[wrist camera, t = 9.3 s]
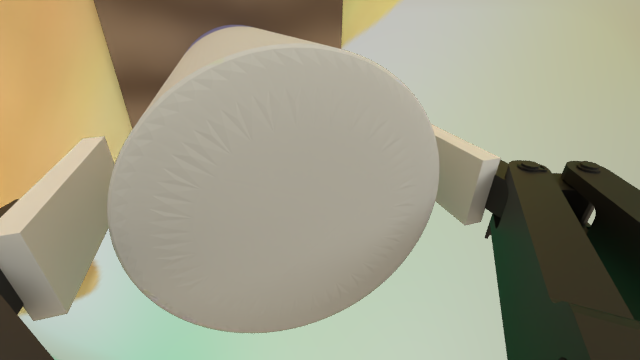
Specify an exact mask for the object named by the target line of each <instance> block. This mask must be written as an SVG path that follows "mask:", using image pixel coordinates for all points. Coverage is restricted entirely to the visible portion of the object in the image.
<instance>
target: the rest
mask: <svg viewBox="0 0 640 360" xmlns="http://www.w3.org/2000/svg"><path fill="white" fill-rule="evenodd" d="M94 3H95V6H96V9H97V13H98V16H99V19H100V23H101V26H102V29H103V33H104V36H105V39H106V42H107V46H108V49H109V52H110V56H111V59H112V62H113V65H114V69H115V72H116V75H117V79H118V82H119V85H120V88H121V92H122V95H123V98H124V102H125V105H126V108H127V112H128V115H129V118H130V121H131V125H132V128H134V127H135V125H136V124H137V122H138V121H139V119H140V118H141V116H142V115H143V114H144V112H145V111H146V109H147V108H148V106H149V105H150V103H151V102H152V101H153V99H154V98H155V96H156V95H157V93H158V92H159V90H160V89H161V87H162V86H163V85H164V83H165V82H166V80H167V79H168V77H169V76H170V74H171V73H172V72H173V70H174V69H175V67H176V66H177V64H178V63H179V61H180V60H181V59H182V57H183V56H184V54H185V53H186V51H187V50H188V48H189V47H190V46H191V45H192V43H193V42H194V41H195V40H196V39H198V38H199V37H200V36H201V35H203V34H204V33H206V32H208V31H210V30H212V29H214V28H217V27H221V26H226V25H245V26H250V27H254V28H258V29H262V30H266V31H270V32H274V33H278V34H282V35H286V36H291V37H295V38H299V39H303V40H307V41H311V42H315V43H319V44H323V45H327V46H331V47H335V48H339V49H341V37H342V6H343V0H94Z"/></svg>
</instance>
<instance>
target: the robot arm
mask: <svg viewBox="0 0 640 360" xmlns="http://www.w3.org/2000/svg"><path fill="white" fill-rule="evenodd" d="M431 125H432V124H431ZM432 128H433V131H434V134H435V138H436V142H437V147H438V153H439V183H438V190H437V195H436V199H435V201H436V202H437V203H438V204H440V205H441V206H442V207H443V208H444V209H446V210H447V211H448V212H449V213H450V214H452V215H453V216H454V217H456V218H457V219H458V220H459V221H460V222H462V223H463V224H464V225H469V224H473V223H478V222H481V220H482V216H483V213H484V210H485V208H486V209H487V210H489V211H490V212H492V213H493V214H492V217H491V220H490V223H489V226H488V229H487V232H486V235H485V238H488V237H489V235H491V236H492V243H493V250H494V259H495V266H496V274H497V282H498V289H499V297H500V305H501V313H502V320H503V328H504V335H505V343H506V351H507V359H508V360H640V190H638V189H637V188H635V187H634V186H632V185H631V184H629V183H628V182H626V181H625V180H623V179H622V178H620V177H619V176H617V175H615V174H614V173H612V172H611V171H609V170H608V169H606V168H604V167H602V166H599V165H597V164H596V163H592V162H588V161H582V162H581V161H570V162H567V163H566V166H565V168H564V171H563V173H562V174H557V173H551V171H550V170H549V169H548V168H546V167H545V166H542V165H540V164H538V163H535V162H532V161H521V160H519V161H518V160H517V161H511V162H509V164H508V163H506V162H504V161H502V160H500V159H501V158H500V157H498V156H496V155H494V154H491V153H490V152H487V151H485V150H483V149H481V148H479V147H477V146H475V145H473V144H471V143H469V142H467V141H465V140H463V139H461V138H459V137H457V136H455V135H453V134H451V133H448V132H446V131H444V130H442V129H440V128H438V127H436V126H434V125H432ZM114 166H115V164H114V162H113V159H112V156H111V153H110V150H109V148H108V145H107V142H106V139H105V136H103V137H92V138H83V139H82V140H81V141H80V142H79V143H78V144H77V145H76V146H74V147H73V148H72V149H71V150H70V151H69V152H68V153H67V154H66V155H65V156H64V157H63V158H62V159H61V160H60V161H59V162H58V163H57V164H56V165H55V166H54V167H53V168H52V169H51V170H49V171H48V172H47V173H46V174H45V175H44V176H43V177H42V178H41V179H40V180H39V181H38V182H37V183H36V184H35V185H34V186H33V187H32V188H31V189H30V190H29V191H28V192H27V193H26V194H24V195H23V196H22V197H21V198H20V199H17V200H14V201H13V202H11V203H9V204H7V205H5V206H4V207H2V208H0V360H54V359H53V358H52V356H51V355H50V354H49V353H48V352H47V350H45V348H44V347H43V346H42V345H41V343H40V342H39V341H38V340H37V338H36V337H35V336H34V335H33V333H32V332H31V331H30V330H29V329H28V327H27V326H26V325H25V324H24V323H23V321H22V320H21V319H20V318H19V317H18V315H17V314H18V313H19V311H20V310H21V308H22V307H24V308H25V310H26V311H27V313H28V314H29V315H30V317H31V318H32V320H33V321H36V320H41V319H45V318H50V317H54V316H59V315H63V314H67V313H68V311H69V309H70V307H71V305H72V303H73V301H74V299H75V297H76V294H77V292H78V290H79V288H80V286H81V284H82V282H83V280H84V278H85V276H86V274H87V272H88V269H89V267H90V265H91V263H92V261H93V259H94V257H95V255H96V253H97V251H98V249H99V247H100V244H101V242H102V240H103V238H104V236H105V234H106V232H107V230H108V228H109V226H108V217H107V200H108V191H109V185H110V180H111V176H112V172H113V169H114ZM594 208H595V210H596V216H595V219H594V221H593V223H592V225H590V224H589V223H588V222H587V221H588V219H589V218H590V216H591V214H592V212H593V210H594Z"/></svg>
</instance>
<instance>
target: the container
mask: <svg viewBox="0 0 640 360" xmlns="http://www.w3.org/2000/svg"><path fill="white" fill-rule="evenodd" d="M438 183H439V153H438V147H437V142H436V138H435V134H434V131H433V128H432V125H431V123H430V121H429V118H428V116H427V114H426V112H425V110H424V109H423V107H422V105H421V104H420V102H419V101H418V99H417V98H416V97H415V95H414V94H413V93H412V92H411V91H410V90H409V88H408V87H407V86H406V85H405V84H404V83H403V82H402V81H401V80H399V79H398V78H397V77H396V76H395V75H393V74H392V73H391V72H389V71H388V70H387V69H385V68H384V67H382V66H380V65H379V64H377V63H375V62H373V61H371V60H369V59H367V58H365V57H363V56H360V55H358V54H355V53H352V52H350V51H346V50H343V49H339V48H335V47H331V46H327V45H323V44H319V43H315V42H311V41H307V40H303V39H299V38H295V37H291V36H286V35H282V34H278V33H274V32H270V31H266V30H262V29H258V28H254V27H250V26H245V25H226V26H221V27H217V28H214V29H212V30H210V31H208V32H206V33H204V34H203V35H201V36H200V37H199V38H198V39H196V40H195V41H194V42H193V43H192V45H191V46H190V47H189V48H188V50H187V51H186V53H185V54H184V56H183V57H182V59H181V60H180V61H179V63H178V64H177V66H176V67H175V69H174V70H173V72H172V73H171V74H170V76H169V77H168V79H167V80H166V82H165V83H164V85H163V86H162V87H161V89H160V90H159V92H158V93H157V95H156V96H155V98H154V99H153V101H152V102H151V103H150V105H149V106H148V108H147V109H146V111H145V112H144V114H143V115H142V116H141V118H140V119H139V121H138V122H137V124H136V125H135V127H134V128H133V129H132V131H131V133H130V134H129V136H128V137H127V139H126V141H125V143H124V145H123V147H122V149H121V151H120V153H119V155H118V158H117V160H116V163H115V166H114V169H113V172H112V176H111V180H110V185H109V191H108V200H107V217H108V226H109V232H110V236H111V240H112V244H113V247H114V250H115V252H116V254H117V257H118V259H119V261H120V263H121V265H122V267H123V268H124V270H125V271H126V273H127V275H128V276H129V278H130V279H131V280H132V282H133V283H134V284H135V285H136V286H137V287H138V288H139V290H140V291H141V292H142V293H143V294H145V295H146V296H147V297H148V298H149V299H151V301H153V302H154V303H155V304H157V305H158V306H160V307H161V308H162V309H164V310H166V311H167V312H169V313H171V314H173V315H174V316H176V317H178V318H181V319H183V320H185V321H187V322H190V323H193V324H196V325H199V326H202V327H206V328H210V329H215V330H220V331H226V332H236V333H267V332H275V331H282V330H287V329H293V328H297V327H301V326H305V325H308V324H311V323H314V322H317V321H319V320H322V319H325V318H327V317H330V316H332V315H334V314H336V313H338V312H340V311H342V310H344V309H346V308H348V307H350V306H351V305H353V304H355V303H356V302H358V301H360V300H361V299H363V298H364V297H365V296H367V295H368V294H370V293H371V292H372V291H374V290H375V289H376V288H377V287H379V286H380V285H381V284H382V283H383V282H384V281H385V280H387V279H388V278H389V277H390V276H391V275H392V273H394V271H396V270H397V268H398V267H399V266H400V265H401V264H402V263H403V261H404V260H405V259H406V258H407V256H408V255H409V254H410V252H411V251H412V249H413V248H414V246H415V245H416V243H417V242H418V240H419V238H420V237H421V235H422V233H423V231H424V229H425V227H426V225H427V223H428V220H429V218H430V215H431V213H432V209H433V206H434V203H435V199H436V195H437V190H438Z"/></svg>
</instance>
